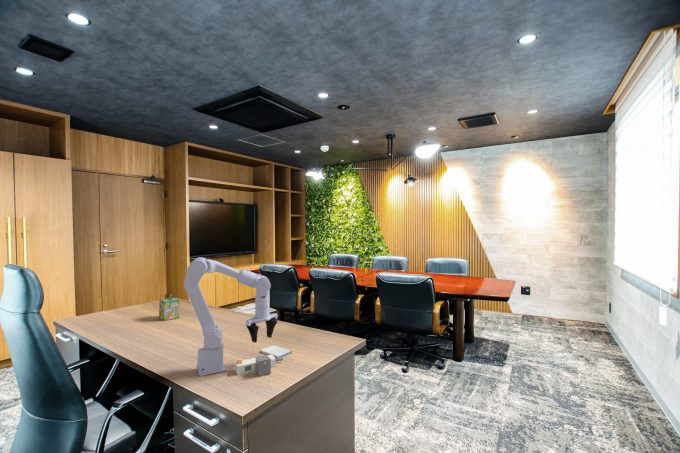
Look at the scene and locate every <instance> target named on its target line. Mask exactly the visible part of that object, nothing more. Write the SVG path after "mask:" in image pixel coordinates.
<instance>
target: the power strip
mask: <svg viewBox="0 0 680 453" xmlns="http://www.w3.org/2000/svg"><path fill="white" fill-rule="evenodd" d="M268 357H269V358H270V359H271V369H273V368H275V367H276V366H277V362H280V361H283V360H284V357H282V358H275V357H274V356H273V355H268ZM233 364H234V365H233V366H234V369H233V370H234V372H235V374H236V375H237V376H239V375H244V374H248V373H253V372H256V357H250V358H248V359H243V360H242V359H239V360H236V361H234V363H233Z"/></svg>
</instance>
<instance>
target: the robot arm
mask: <svg viewBox="0 0 680 453" xmlns="http://www.w3.org/2000/svg"><path fill="white" fill-rule="evenodd" d="M206 272H208V274H210V273H212V274H213V273H219V274H223V275H226V276H229V277H231V278H233V279H234V278H235V279H236V281H237V283H239V284H241V285H244V286H246V287H249V288H253V289H254V288H255V299H254V300H255V301H254V302H255V304H254V306H255V307H254V316H253V317H251V318H248V319H245V326H246V329H247V330H248V332H249V335H250V338H251V342H253V343H257V341H258V331H259V328H260V326H259V325H257V324H259V323H263V322H264V323H265V325H266V326H265V327H266V337H267V338H269V339H270V338H271V339H272V337H273V333H274V330H275V328H276V325H277V323H278V313H276V312H274V313H270V299H271V298H270V296H271V295H270V292H271V291H270V290H271V286H272V284H271V281H270V279H269V277H267V276H265V275H262V274H261V273H255V272H252V271H251V269H249V268H246V269H244V268H243V269H240V270H238V269H236V268H234V267H231V266H229V265H227V264H225V263H223V262H220V261H217V260H215V259H210V258H206V257H202V256H201V257H200V256H199V257H197V258H195V259H193V260H191V262H190V264H189V265H188V267H187V268H186V273H185V277H184V281H183V286H184V289H185V292H186V293H187V297H188V299H189V301H190V303H191V305H192V308H193V310H194V312H195V314H196V317H197V320H198V322H199V324H200V326H201V330H202V336H203V338H204V339H203V340H204V341H203V343H204V345H203V347H200V348H198V349H197V354H196V355H197V364H196V369H197V371H198V375H199V377H202V376H207V375H210V374H216V373H220V372H225V371H227V369H226V367H225V365H224V343H223V341H222V340H223V338H222V337H223V330H222V328H221V327H220V326H218V325H217V322H216V321H215V319H214V318H213V315H212V312H211V310H210V308H209V306H208V304H207V301H206V299H205V296H204V294H203V291H202V289H201V286H200V285H199V283H200V281H201V278H202V277H203V276H204V275H205V274H206Z"/></svg>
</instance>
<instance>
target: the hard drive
mask: <svg viewBox="0 0 680 453" xmlns="http://www.w3.org/2000/svg"><path fill="white" fill-rule="evenodd" d="M293 352H294V351H292V350H289V349H288V348H285V347H284V348H283V347H281V346H278V345H274V344H272V345H269V346H267V347H265V348H261V349H260V350H259V353H261V354H263V355H273V356H274V357H275V358H276V359H278V358H284V357H287V356H289V355H292V354H293Z"/></svg>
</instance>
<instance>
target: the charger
mask: <svg viewBox="0 0 680 453" xmlns="http://www.w3.org/2000/svg"><path fill="white" fill-rule="evenodd" d="M255 358H256V371H255V372H256V374H257V375H258V377H261V376H265V375H270V374H271V373H272V372H271V370H272V368H271V359H270V358H269V357H268V355H266V354H263V355H258V356H255Z"/></svg>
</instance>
